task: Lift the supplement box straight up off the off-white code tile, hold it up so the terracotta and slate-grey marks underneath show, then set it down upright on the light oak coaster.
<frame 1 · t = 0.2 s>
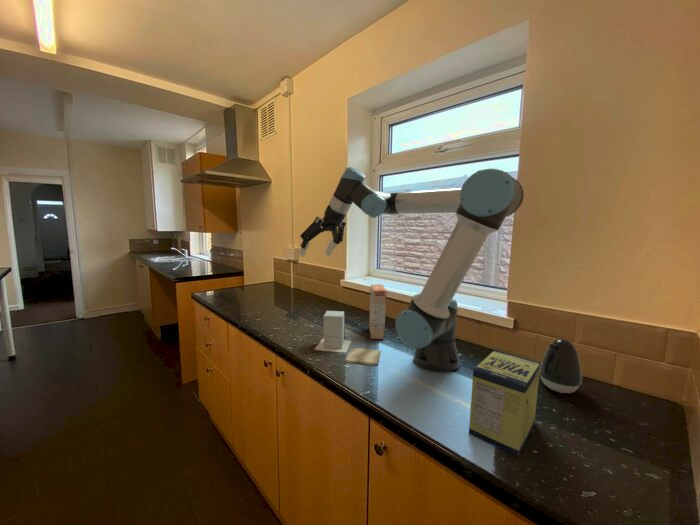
hand: (314, 254, 120), 35 cm above the worktop, tool tilted 35°, fingers open, 13 cm apart
oak coaster: (363, 357, 107), on the worktop
supplement box: (333, 345, 117), resting on code tile
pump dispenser: (558, 389, 88), on the worktop
protein box: (502, 429, 70), on the worktop
code tile: (333, 345, 117), on the worktop
cracker box: (376, 334, 131), on the worktop
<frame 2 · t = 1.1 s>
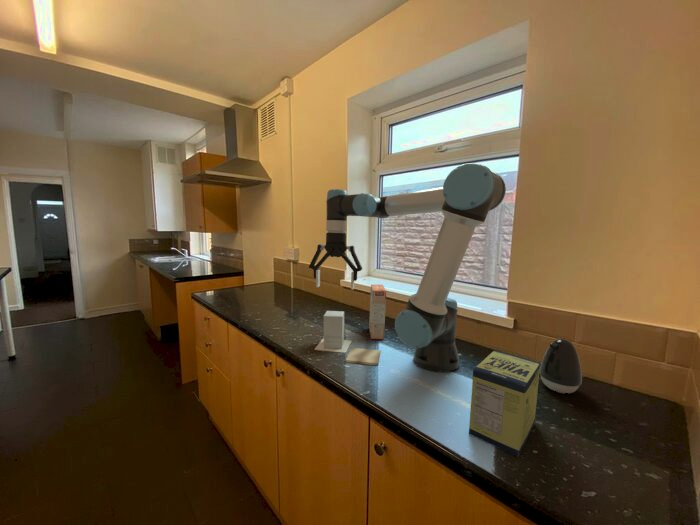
hand: (335, 288, 115), 23 cm above the worktop, tool pointing down, fingers open, 13 cm apart
nothing on the worktop moved.
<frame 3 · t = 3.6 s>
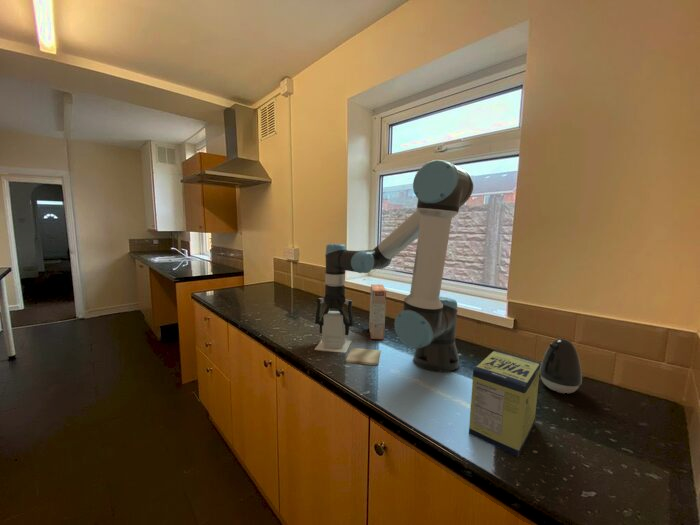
hand: (334, 341, 117), 1 cm above the worktop, tool pointing down, fingers closed on supplement box, 8 cm apart
supplement box: (333, 345, 117), resting on code tile, touching gripper
everything else where it was.
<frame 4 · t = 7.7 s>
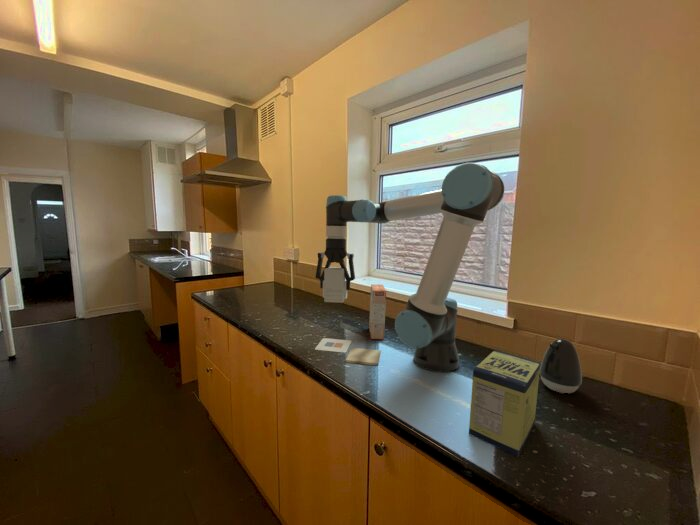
hand: (334, 297, 115), 19 cm above the worktop, tool pointing down, fingers closed on supplement box, 8 cm apart
supplement box: (334, 300, 115), point 18 cm above the worktop, touching gripper
everything else where it was.
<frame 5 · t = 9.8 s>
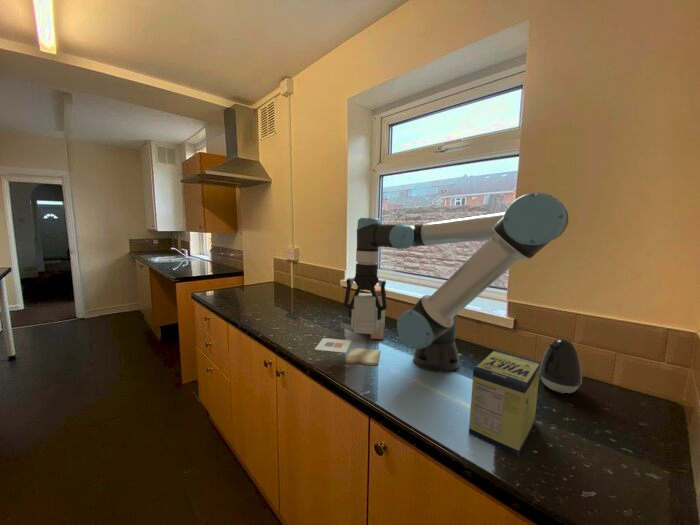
hand: (364, 327, 106), 11 cm above the worktop, tool pointing down, fingers closed on supplement box, 8 cm apart
supplement box: (364, 330, 106), point 10 cm above the worktop, touching gripper
everything else where it was.
when the fingers open (3 cm above the worktop, at t = 11.7 s): supplement box drops 1 cm, resting on oak coaster.
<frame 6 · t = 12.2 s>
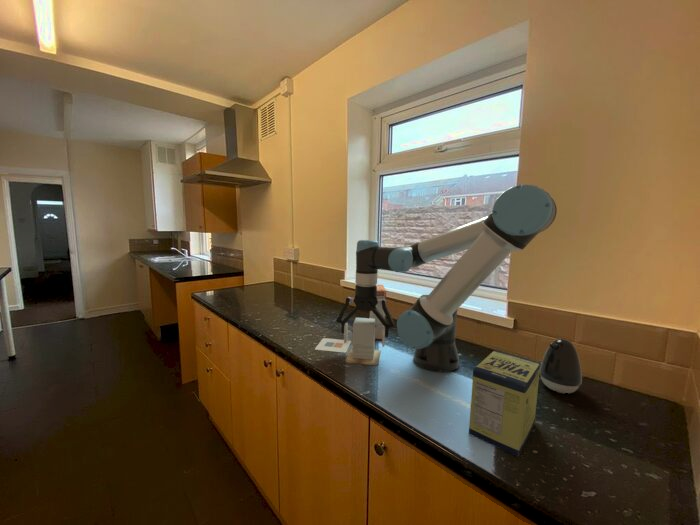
hand: (364, 343, 106), 5 cm above the worktop, tool pointing down, fingers open, 13 cm apart
supplement box: (363, 355, 107), point 1 cm above the worktop, touching oak coaster
everything else where it was.
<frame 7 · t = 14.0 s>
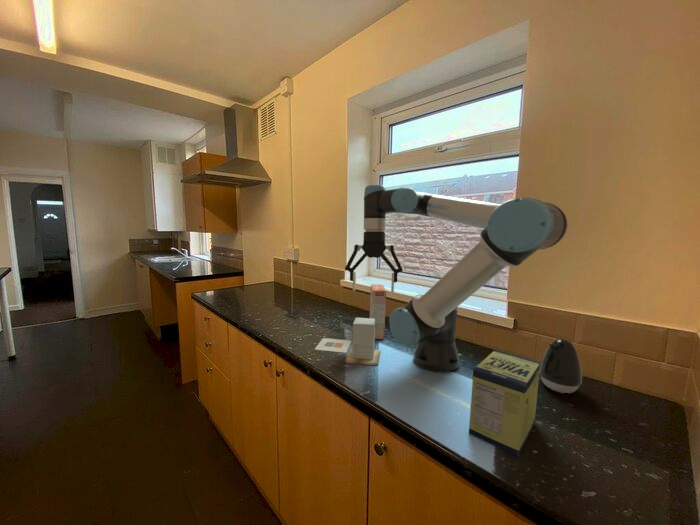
hand: (373, 290, 107), 24 cm above the worktop, tool pointing down, fingers open, 13 cm apart
nothing on the worktop moved.
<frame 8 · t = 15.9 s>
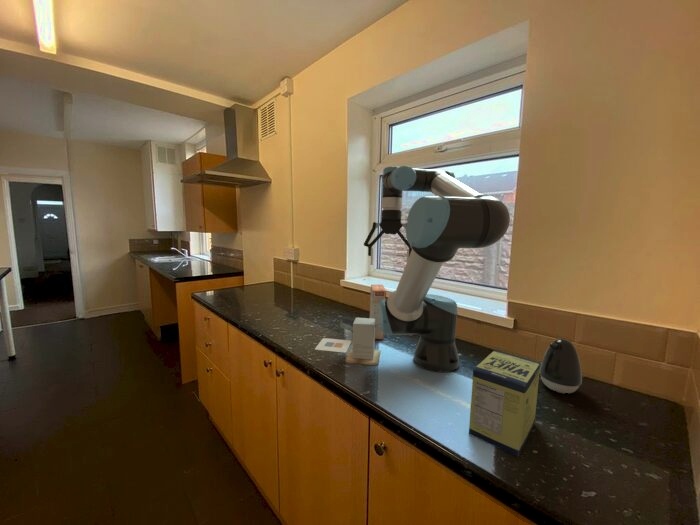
hand: (389, 265, 116), 32 cm above the worktop, tool pointing down, fingers open, 13 cm apart
nothing on the worktop moved.
at the end: supplement box 0.1 cm off-centre on the oak coaster, point 0.6 cm above the oak coaster's base; supplement box tilted 0°; the gripper is holding nothing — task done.
